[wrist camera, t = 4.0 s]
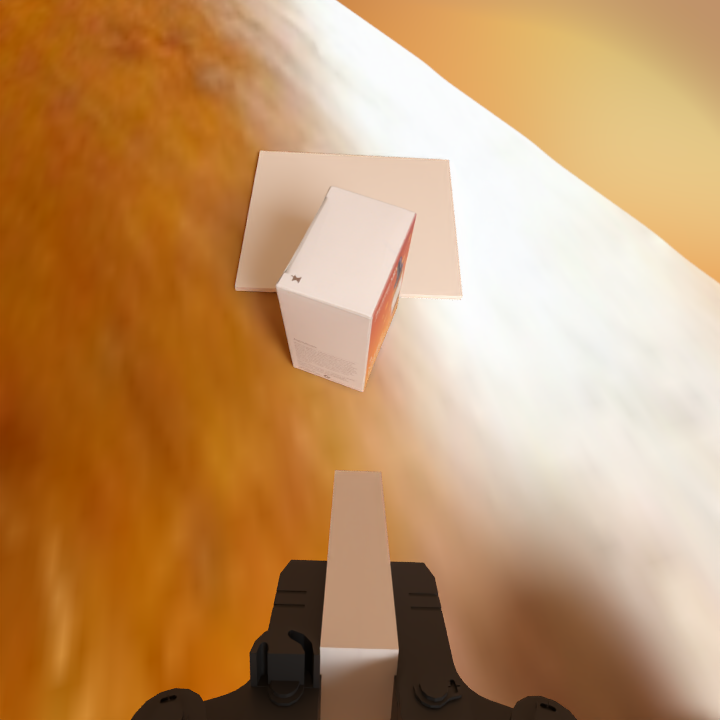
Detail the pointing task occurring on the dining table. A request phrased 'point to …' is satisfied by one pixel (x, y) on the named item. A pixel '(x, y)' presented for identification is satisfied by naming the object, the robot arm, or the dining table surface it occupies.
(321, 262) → the small box
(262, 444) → the dining table surface
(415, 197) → the beige mat
